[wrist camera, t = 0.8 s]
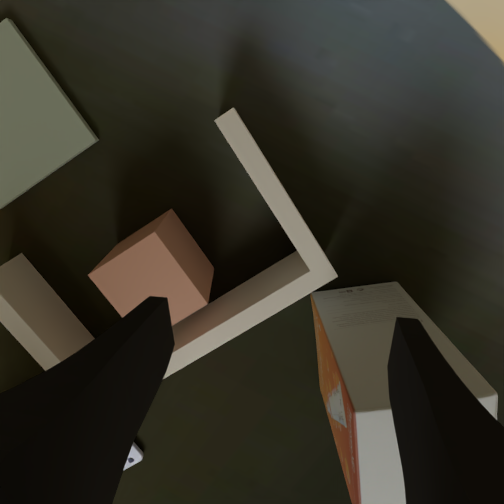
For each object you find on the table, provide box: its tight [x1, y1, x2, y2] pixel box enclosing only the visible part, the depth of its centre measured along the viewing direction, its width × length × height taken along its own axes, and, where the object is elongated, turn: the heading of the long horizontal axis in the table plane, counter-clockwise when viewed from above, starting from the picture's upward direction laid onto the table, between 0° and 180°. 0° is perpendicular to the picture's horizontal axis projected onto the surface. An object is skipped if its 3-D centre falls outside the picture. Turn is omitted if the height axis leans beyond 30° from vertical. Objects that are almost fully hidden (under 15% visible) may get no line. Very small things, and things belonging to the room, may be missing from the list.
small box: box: [311, 282, 498, 504], centre depth 26 cm, size 8×6×13 cm
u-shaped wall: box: [0, 108, 338, 379], centre depth 28 cm, size 18×11×4 cm, turn 123°
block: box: [88, 209, 214, 326], centre depth 27 cm, size 4×5×6 cm
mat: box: [0, 18, 99, 209], centre depth 27 cm, size 8×8×1 cm
